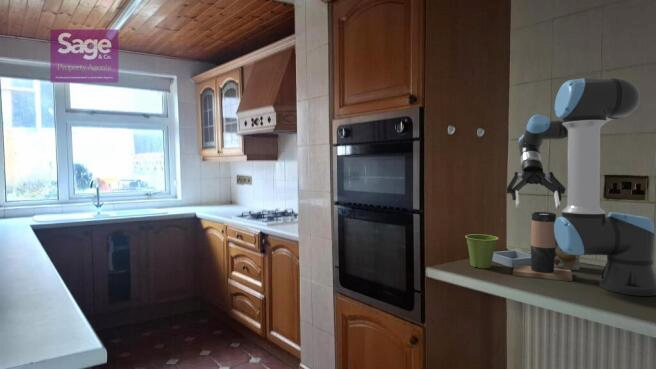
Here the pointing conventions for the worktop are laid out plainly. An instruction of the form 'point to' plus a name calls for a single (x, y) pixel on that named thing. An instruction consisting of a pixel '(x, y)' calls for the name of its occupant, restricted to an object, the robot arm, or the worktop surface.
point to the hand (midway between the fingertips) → (537, 206)
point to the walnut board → (556, 275)
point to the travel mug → (543, 242)
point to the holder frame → (507, 256)
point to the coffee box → (565, 260)
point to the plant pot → (481, 249)
